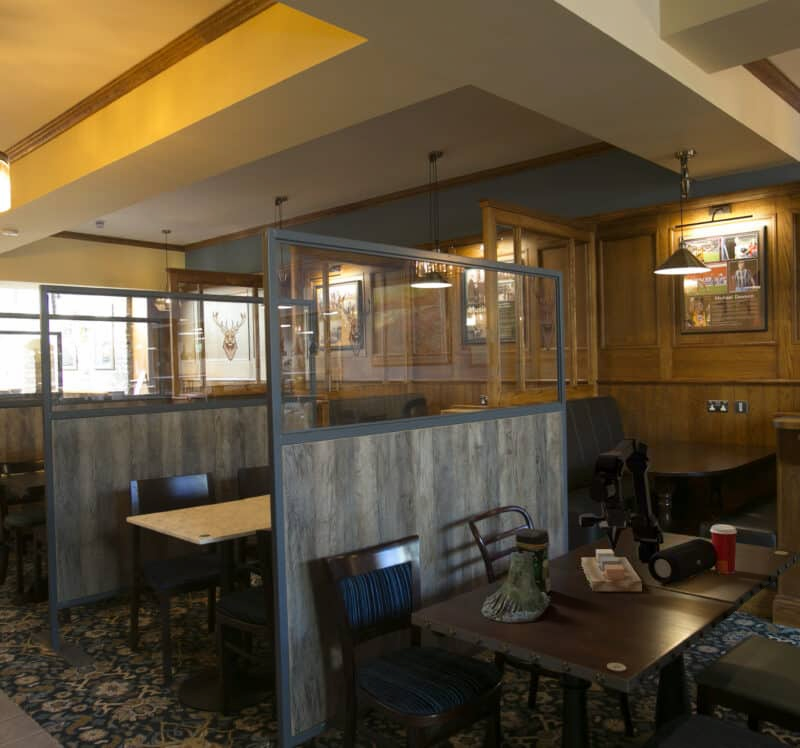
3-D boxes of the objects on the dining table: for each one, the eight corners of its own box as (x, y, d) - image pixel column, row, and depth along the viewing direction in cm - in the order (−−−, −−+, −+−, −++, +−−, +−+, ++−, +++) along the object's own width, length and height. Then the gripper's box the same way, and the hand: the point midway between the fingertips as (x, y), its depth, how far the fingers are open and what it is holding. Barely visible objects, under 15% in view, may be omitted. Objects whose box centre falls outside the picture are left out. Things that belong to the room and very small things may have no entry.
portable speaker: (676, 589, 206) (674, 555, 206) (646, 582, 214) (644, 549, 214) (721, 571, 221) (720, 539, 221) (692, 565, 229) (690, 534, 229)
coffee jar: (513, 592, 210) (510, 530, 210) (525, 585, 216) (523, 524, 216) (542, 597, 204) (540, 533, 204) (554, 590, 210) (552, 527, 210)
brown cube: (621, 581, 213) (621, 564, 213) (624, 586, 208) (624, 569, 208) (604, 581, 214) (604, 564, 214) (607, 586, 209) (606, 569, 209)
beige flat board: (625, 566, 232) (625, 557, 232) (642, 591, 206) (641, 580, 206) (581, 566, 234) (581, 557, 233) (592, 591, 208) (592, 581, 208)
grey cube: (616, 572, 222) (616, 556, 222) (619, 577, 217) (618, 560, 217) (600, 572, 222) (599, 556, 222) (602, 577, 218) (602, 561, 218)
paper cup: (733, 568, 225) (732, 524, 225) (741, 575, 217) (740, 529, 217) (707, 567, 226) (706, 524, 226) (715, 575, 218) (713, 529, 218)
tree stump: (464, 613, 195) (470, 547, 198) (512, 613, 207) (517, 551, 210) (515, 627, 181) (520, 555, 184) (563, 626, 193) (568, 558, 196)
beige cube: (612, 564, 231) (611, 549, 231) (614, 568, 226) (614, 553, 226) (596, 564, 231) (595, 549, 231) (598, 568, 226) (598, 553, 226)
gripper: (582, 502, 204) (584, 556, 204) (649, 501, 201) (651, 555, 202) (578, 495, 215) (580, 546, 215) (641, 494, 212) (643, 545, 213)
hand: (613, 548), depth 211 cm, fingers closed
